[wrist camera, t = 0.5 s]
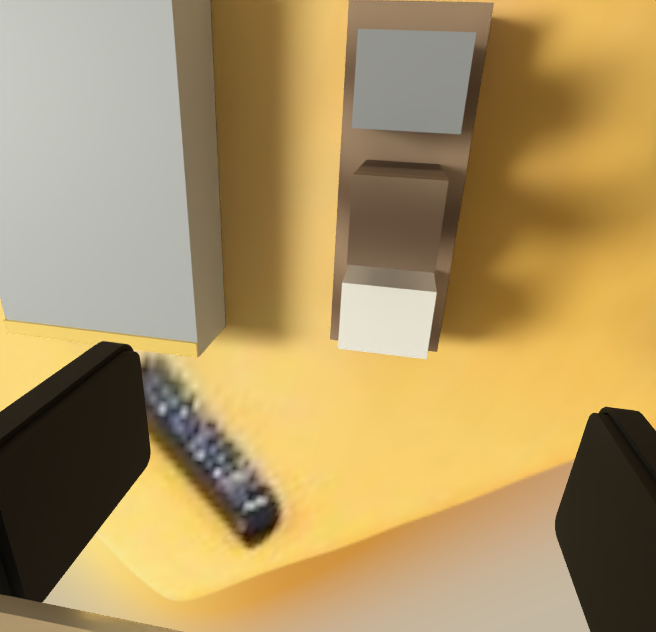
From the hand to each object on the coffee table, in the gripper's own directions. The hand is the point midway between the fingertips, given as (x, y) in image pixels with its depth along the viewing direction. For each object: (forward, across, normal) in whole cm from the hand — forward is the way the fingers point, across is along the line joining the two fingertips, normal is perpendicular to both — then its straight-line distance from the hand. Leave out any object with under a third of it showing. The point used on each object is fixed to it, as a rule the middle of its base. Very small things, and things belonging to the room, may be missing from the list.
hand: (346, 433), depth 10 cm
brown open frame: (+23, 0, -2) cm, 23 cm away
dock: (+22, +19, -2) cm, 29 cm away
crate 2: (+20, 0, +4) cm, 20 cm away
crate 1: (+19, 0, -8) cm, 21 cm away
